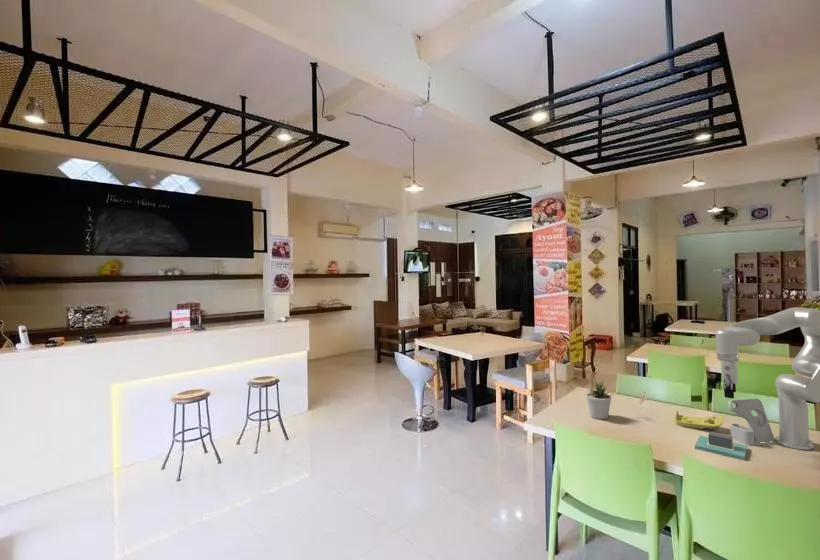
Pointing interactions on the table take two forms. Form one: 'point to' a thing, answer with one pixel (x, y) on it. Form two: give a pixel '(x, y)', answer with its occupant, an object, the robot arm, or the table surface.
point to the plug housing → (720, 440)
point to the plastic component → (698, 421)
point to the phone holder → (751, 423)
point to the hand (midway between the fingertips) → (730, 394)
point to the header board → (721, 448)
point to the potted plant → (599, 402)
